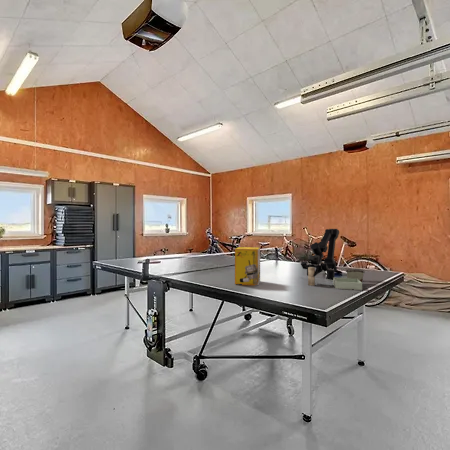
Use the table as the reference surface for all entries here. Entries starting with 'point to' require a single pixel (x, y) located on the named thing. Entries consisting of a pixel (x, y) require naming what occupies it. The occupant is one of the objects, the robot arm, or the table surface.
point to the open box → (347, 283)
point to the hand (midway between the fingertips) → (310, 275)
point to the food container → (355, 274)
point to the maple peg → (311, 276)
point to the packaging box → (247, 266)
